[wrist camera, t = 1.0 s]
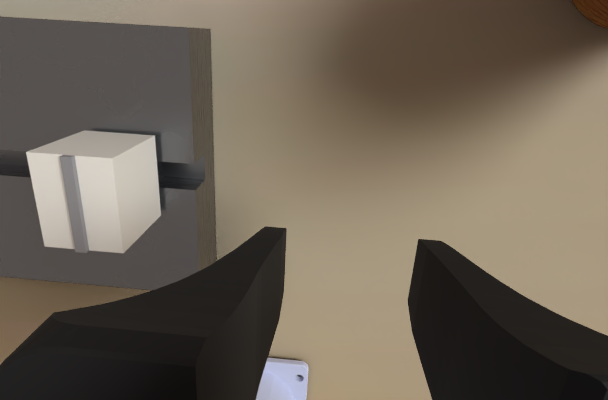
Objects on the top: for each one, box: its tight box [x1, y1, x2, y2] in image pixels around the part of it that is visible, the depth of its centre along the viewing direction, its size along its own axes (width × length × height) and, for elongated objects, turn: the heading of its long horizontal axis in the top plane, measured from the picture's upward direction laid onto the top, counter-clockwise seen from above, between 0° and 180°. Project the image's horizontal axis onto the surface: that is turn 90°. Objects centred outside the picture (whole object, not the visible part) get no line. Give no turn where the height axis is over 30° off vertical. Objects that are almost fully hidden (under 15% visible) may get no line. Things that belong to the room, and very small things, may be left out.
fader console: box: [0, 17, 216, 290], centre depth 20 cm, size 12×19×3 cm, turn 87°
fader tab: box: [26, 130, 161, 253], centre depth 17 cm, size 4×3×5 cm
